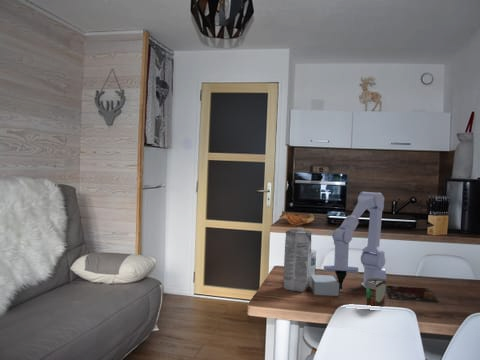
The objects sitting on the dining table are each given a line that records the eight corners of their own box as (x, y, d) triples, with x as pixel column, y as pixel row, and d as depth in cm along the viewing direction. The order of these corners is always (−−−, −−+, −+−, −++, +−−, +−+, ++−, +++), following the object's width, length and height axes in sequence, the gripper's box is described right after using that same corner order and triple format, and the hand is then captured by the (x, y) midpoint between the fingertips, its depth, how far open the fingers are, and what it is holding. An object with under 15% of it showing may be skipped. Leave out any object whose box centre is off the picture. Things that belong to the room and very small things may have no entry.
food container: (370, 300, 168) (371, 276, 168) (385, 304, 164) (387, 279, 164) (358, 307, 158) (359, 281, 158) (374, 310, 154) (375, 284, 154)
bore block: (333, 287, 186) (333, 275, 186) (339, 296, 172) (340, 283, 172) (310, 286, 187) (310, 274, 187) (314, 294, 173) (315, 282, 173)
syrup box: (309, 282, 194) (311, 251, 194) (298, 280, 197) (300, 249, 197) (315, 280, 198) (316, 250, 198) (304, 278, 202) (305, 248, 202)
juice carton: (305, 293, 174) (307, 229, 174) (281, 289, 178) (284, 227, 178) (310, 288, 182) (313, 227, 182) (287, 285, 186) (290, 225, 186)
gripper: (325, 257, 172) (324, 290, 172) (360, 259, 172) (359, 291, 172) (323, 254, 180) (321, 285, 180) (356, 256, 179) (355, 287, 179)
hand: (340, 288), depth 176 cm, fingers closed
